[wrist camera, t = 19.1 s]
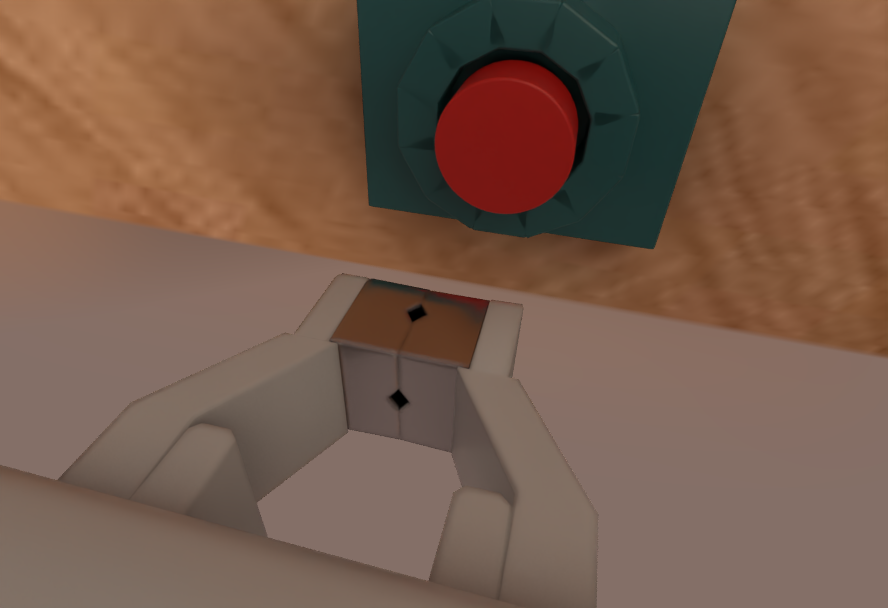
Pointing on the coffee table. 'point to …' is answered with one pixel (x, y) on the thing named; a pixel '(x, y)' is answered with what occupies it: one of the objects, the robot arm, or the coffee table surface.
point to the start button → (508, 137)
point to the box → (579, 68)
